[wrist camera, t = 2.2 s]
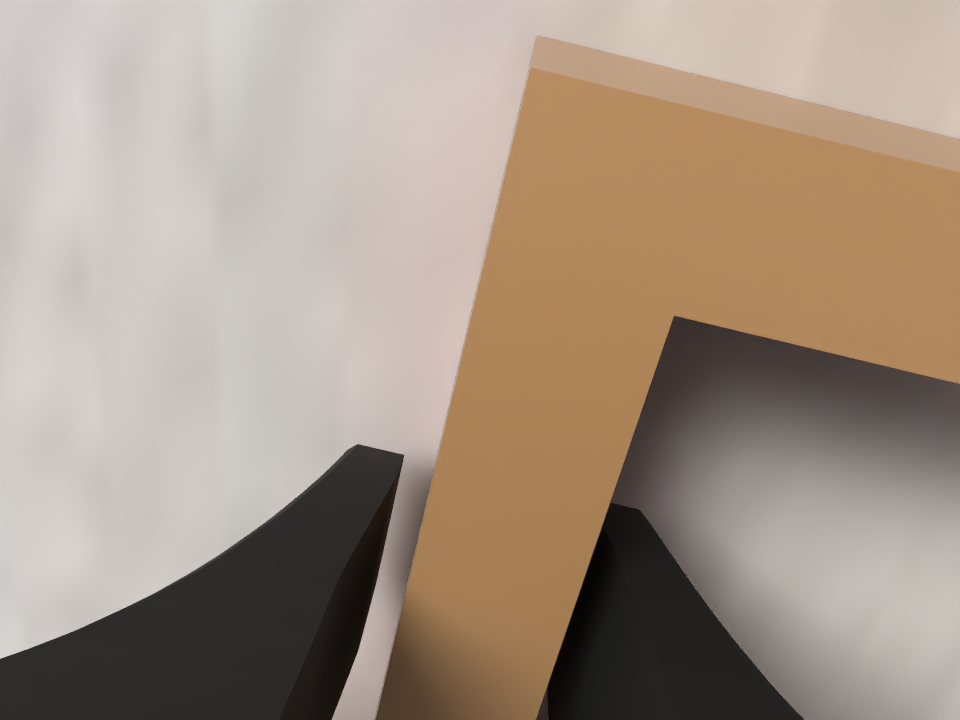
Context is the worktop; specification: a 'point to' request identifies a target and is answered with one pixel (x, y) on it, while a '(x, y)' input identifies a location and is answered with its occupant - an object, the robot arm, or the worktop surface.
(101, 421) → the worktop surface
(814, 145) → the tan c-shaped bracket
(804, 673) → the worktop surface
